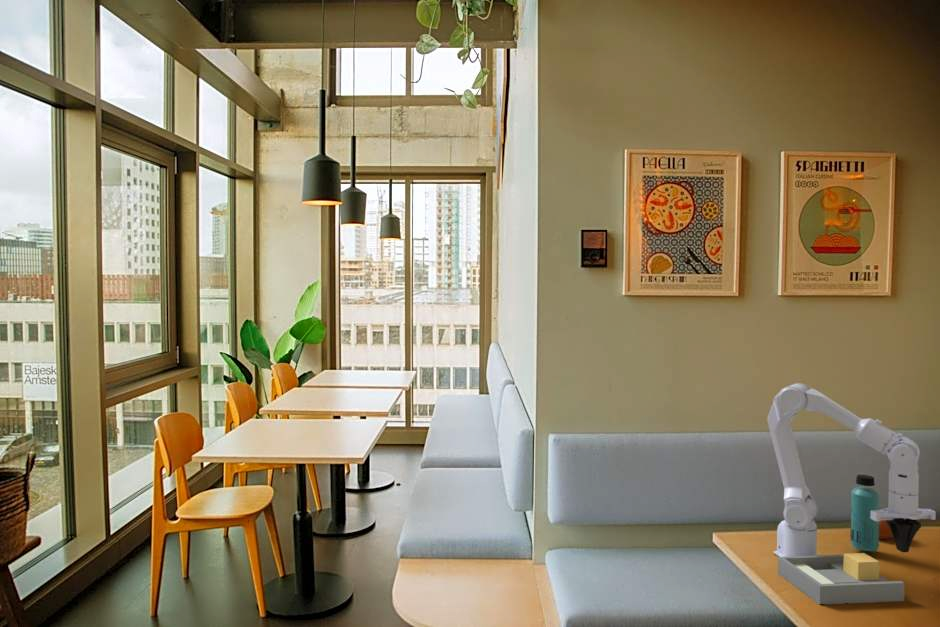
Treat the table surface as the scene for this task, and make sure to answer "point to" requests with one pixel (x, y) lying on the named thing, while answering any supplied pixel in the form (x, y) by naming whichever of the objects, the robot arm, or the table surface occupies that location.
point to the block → (861, 566)
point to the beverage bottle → (864, 515)
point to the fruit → (884, 530)
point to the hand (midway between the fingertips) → (902, 550)
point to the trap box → (836, 581)
